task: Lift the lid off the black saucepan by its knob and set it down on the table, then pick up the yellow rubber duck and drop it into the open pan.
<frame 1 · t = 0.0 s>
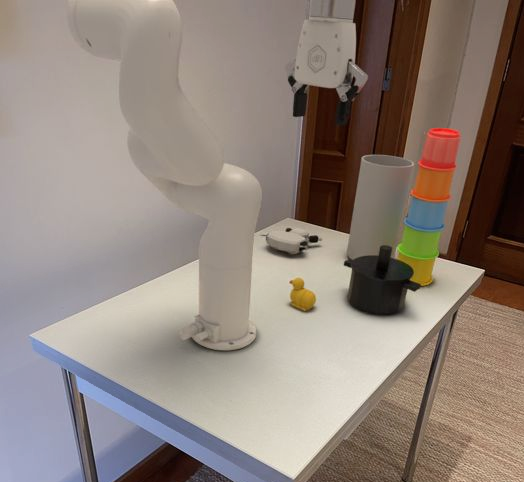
hand: (319, 120, 98), 37 cm above the table, tool pointing down, fingers open, 9 cm apart
stacking cups: (411, 278, 131), on the table
pan lid: (381, 269, 114), point 8 cm above the table, touching pan
cylinder vase: (369, 258, 141), on the table
duck: (301, 306, 114), on the table
robot toy: (291, 248, 143), on the table
pan: (375, 302, 118), on the table
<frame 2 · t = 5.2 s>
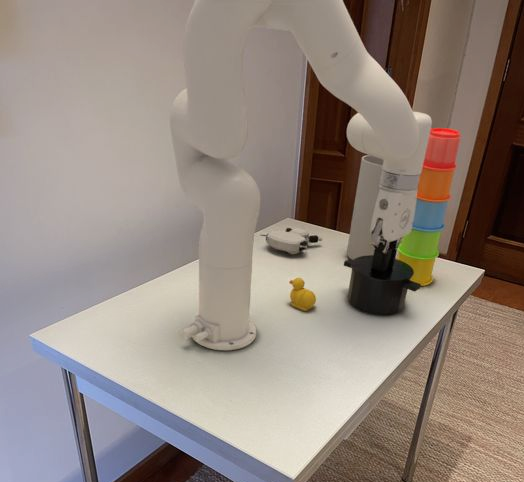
hand: (382, 266, 114), 9 cm above the table, tool pointing down, fingers closed on pan lid, 2 cm apart
pan lid: (381, 269, 114), point 8 cm above the table, touching gripper, pan
everything else where it was.
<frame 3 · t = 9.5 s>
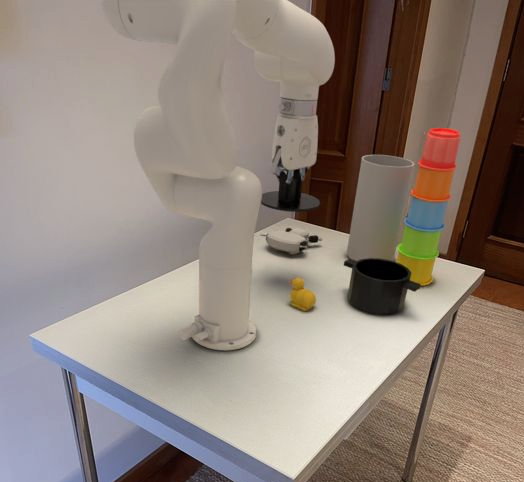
hand: (289, 198, 115), 19 cm above the table, tool pointing down, fingers closed on pan lid, 2 cm apart
pan lid: (289, 201, 115), point 19 cm above the table, touching gripper
everything else where it was.
when the fingers open (1 cm above the table, at t = 13.7 s): pan lid stays where it is, point 1 cm above the table.
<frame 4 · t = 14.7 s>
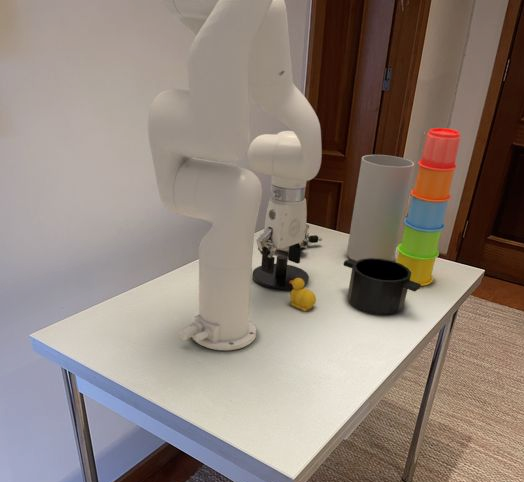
hand: (280, 266, 123), 3 cm above the table, tool pointing down, fingers open, 9 cm apart
pan lid: (280, 276, 125), point 1 cm above the table
everything else where it was.
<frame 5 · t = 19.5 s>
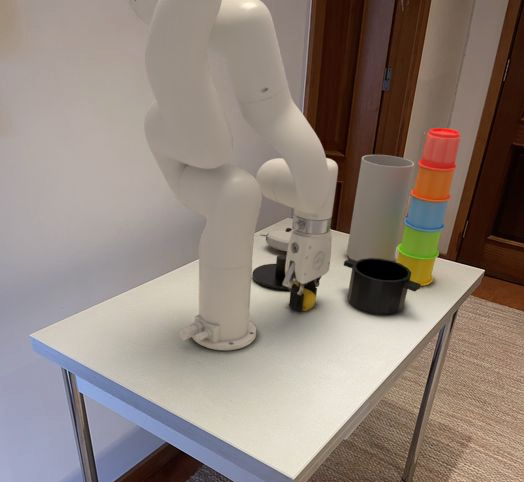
hand: (302, 304, 114), 0 cm above the table, tool pointing down, fingers closed on duck, 3 cm apart
duck: (301, 306, 114), on the table, touching gripper
everything else where it was.
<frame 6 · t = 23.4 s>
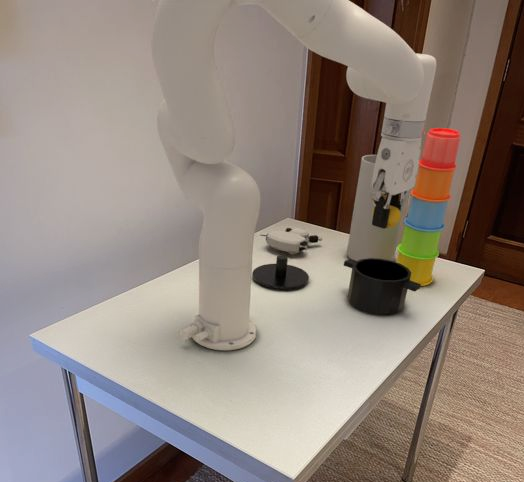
hand: (384, 223, 108), 18 cm above the table, tool pointing down, fingers closed on duck, 3 cm apart
duck: (384, 224, 108), point 18 cm above the table, touching gripper
everything else where it was.
when the fingers open (1 cm above the table, at t = 28.3 s): duck stays where it is, resting on pan.
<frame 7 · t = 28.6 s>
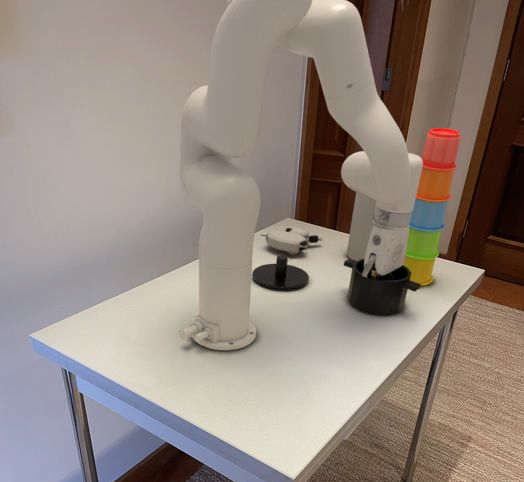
hand: (376, 296, 117), 2 cm above the table, tool pointing down, fingers open, 4 cm apart
duck: (376, 300, 118), resting on pan
everything else where it was.
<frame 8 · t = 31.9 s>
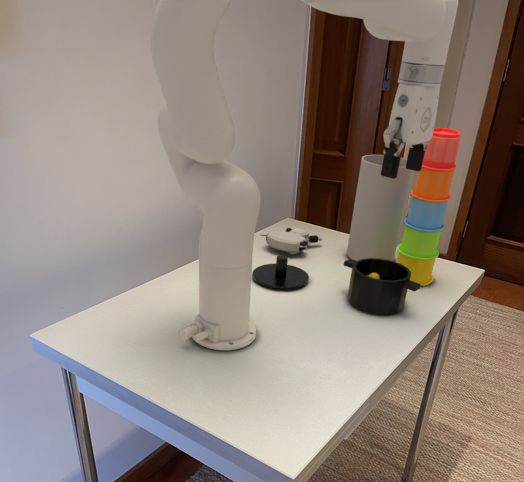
hand: (401, 173, 103), 28 cm above the table, tool pointing down, fingers open, 9 cm apart
nothing on the table moved.
at the end: pan lid inside the target area (0.1 cm from its centre), point 0.6 cm above the table; duck inside the target area in the pan (0.1 cm from its centre), point 0.5 cm above the pan's base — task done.
